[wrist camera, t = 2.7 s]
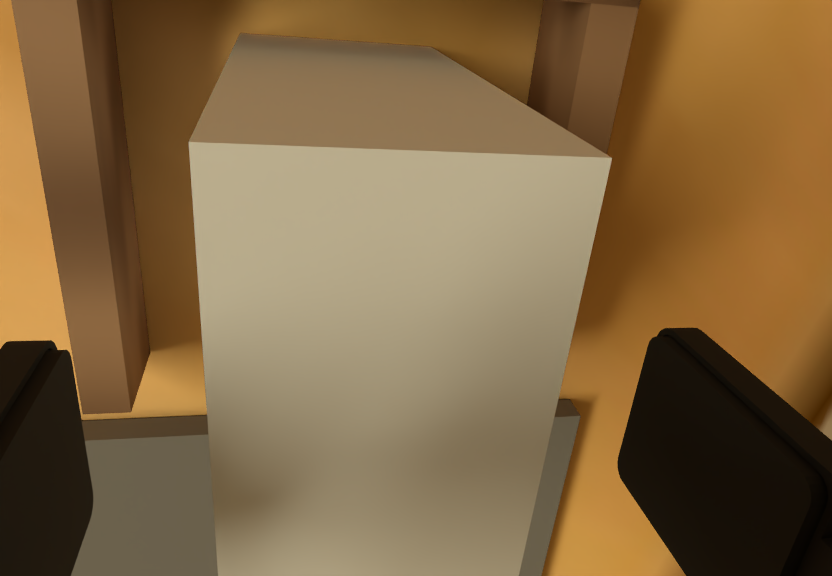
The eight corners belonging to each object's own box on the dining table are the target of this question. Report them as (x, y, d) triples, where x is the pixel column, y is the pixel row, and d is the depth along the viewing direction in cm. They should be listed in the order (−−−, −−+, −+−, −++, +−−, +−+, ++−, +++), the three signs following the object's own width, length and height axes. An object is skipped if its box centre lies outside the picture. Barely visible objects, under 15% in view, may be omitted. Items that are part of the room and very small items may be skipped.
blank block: (240, 32, 17) (188, 142, 7) (430, 46, 18) (611, 158, 8) (248, 307, 20) (221, 630, 11) (406, 306, 21) (513, 598, 12)
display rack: (41, -110, 15) (-11, -123, 12) (594, -50, 17) (651, -51, 15) (108, 353, 20) (83, 414, 17) (522, 343, 23) (553, 394, 20)
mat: (39, 422, 21) (29, 443, 20) (569, 399, 24) (580, 416, 23) (90, 664, 26) (84, 689, 25) (519, 615, 30) (526, 635, 29)
